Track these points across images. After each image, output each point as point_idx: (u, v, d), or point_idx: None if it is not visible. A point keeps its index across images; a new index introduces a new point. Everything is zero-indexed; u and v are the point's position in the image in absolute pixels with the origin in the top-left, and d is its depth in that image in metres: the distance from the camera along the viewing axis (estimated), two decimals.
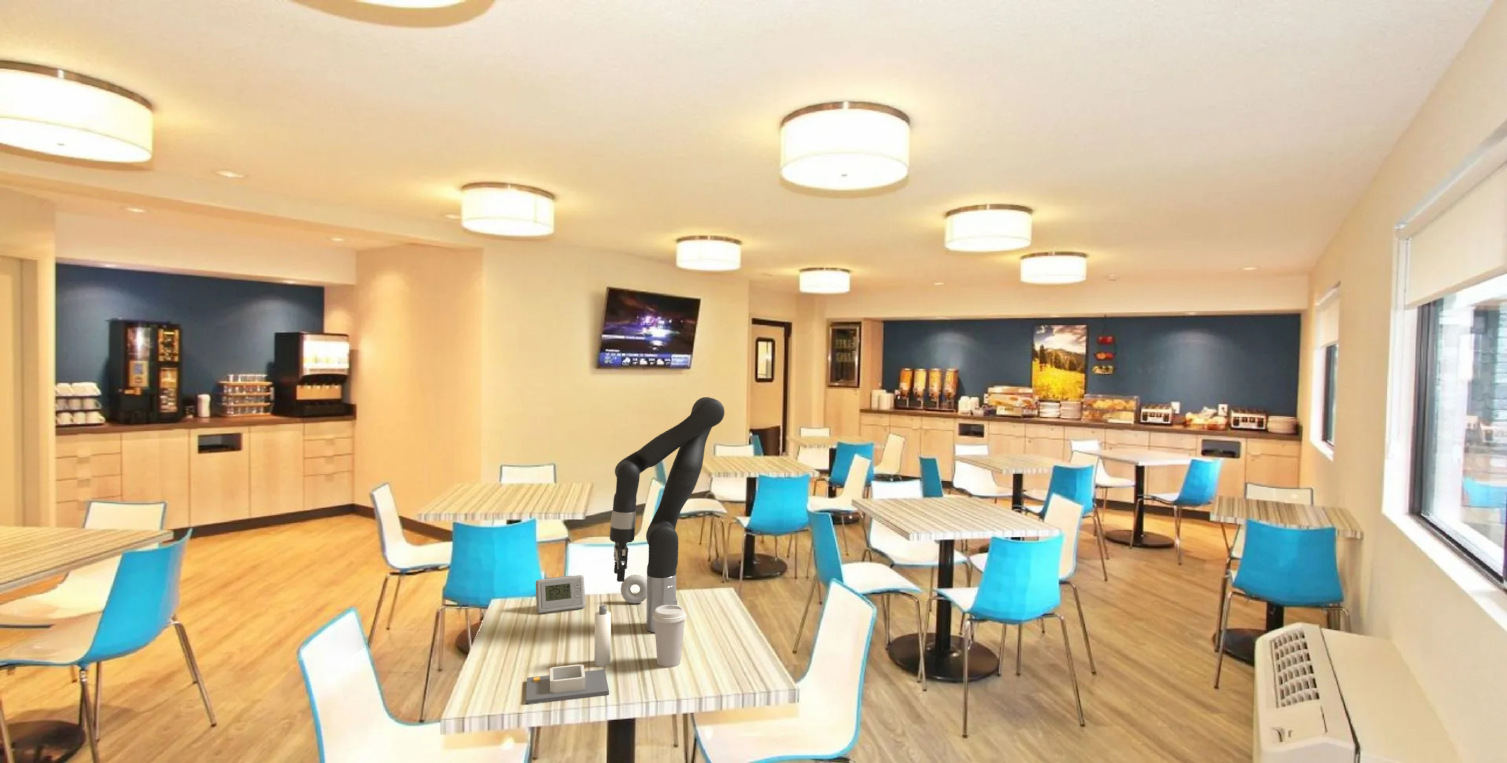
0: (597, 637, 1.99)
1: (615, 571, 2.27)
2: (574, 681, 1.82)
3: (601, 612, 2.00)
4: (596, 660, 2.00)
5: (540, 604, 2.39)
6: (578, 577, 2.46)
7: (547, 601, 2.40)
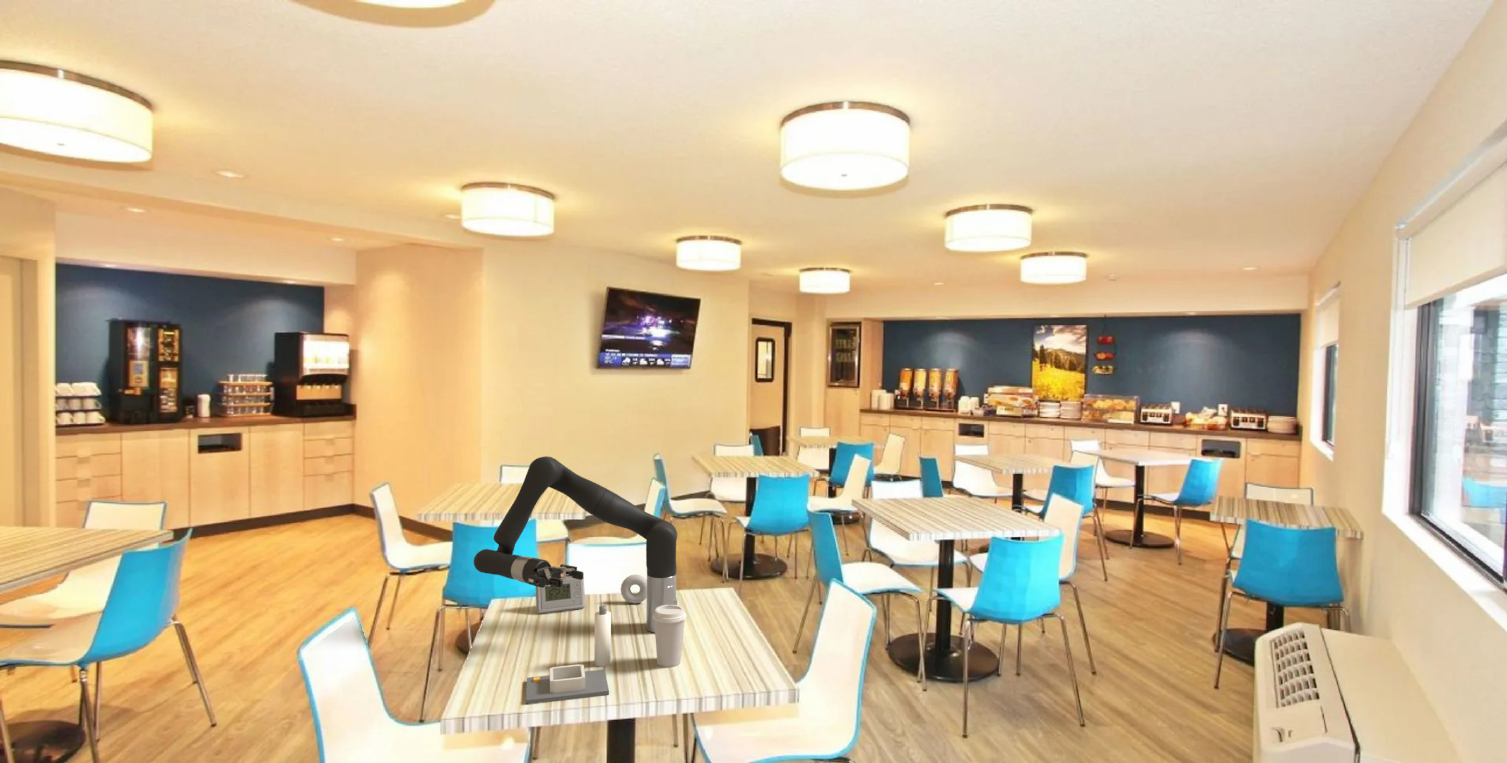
0: (596, 637, 1.99)
1: (580, 578, 2.10)
2: (574, 681, 1.82)
3: (601, 612, 2.00)
4: (596, 660, 2.00)
5: (540, 604, 2.39)
6: None
7: (547, 601, 2.40)
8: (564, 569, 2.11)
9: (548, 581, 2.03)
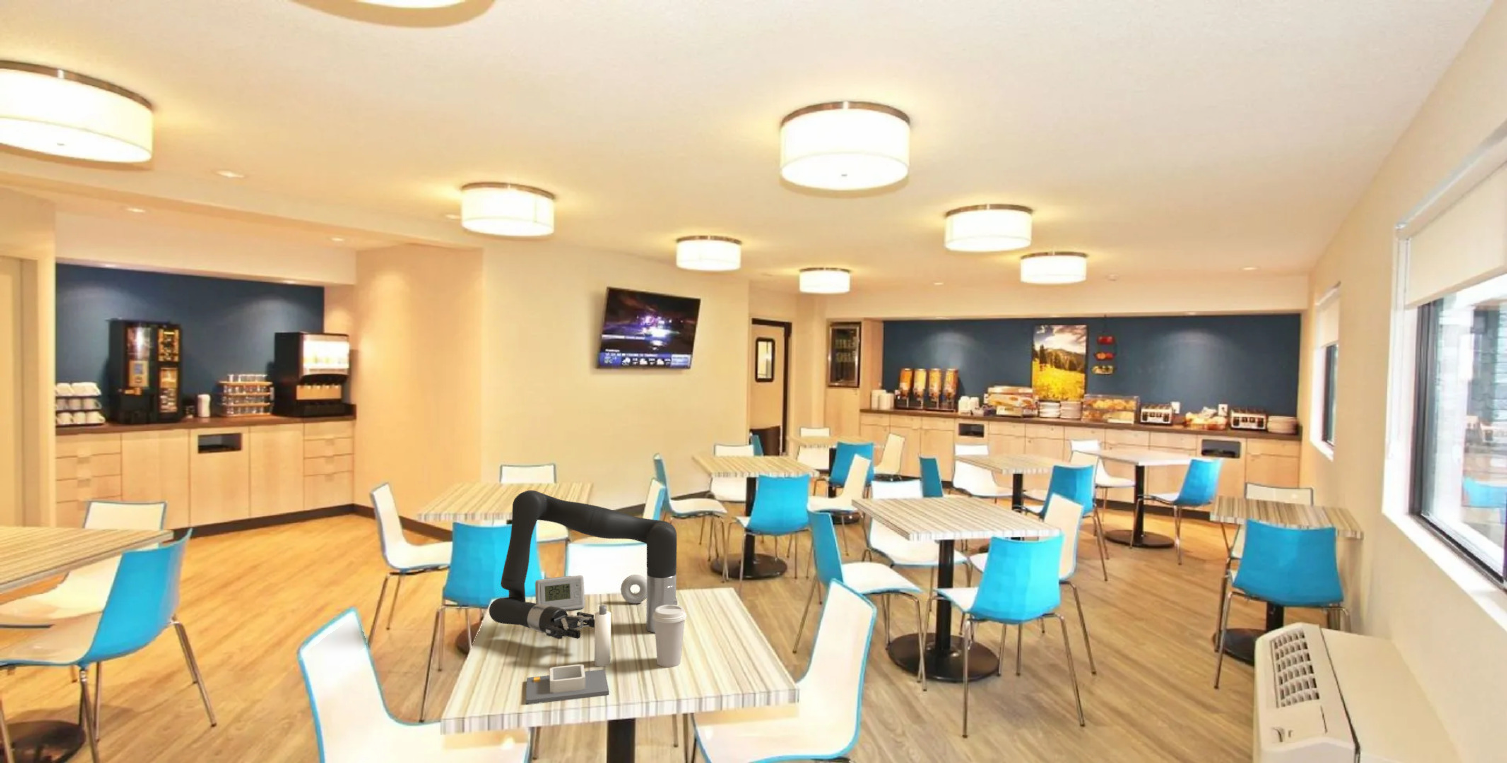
0: (597, 637, 1.99)
1: None
2: (574, 681, 1.82)
3: (601, 612, 2.00)
4: (596, 660, 2.00)
5: None
6: (578, 577, 2.46)
7: (546, 601, 2.40)
8: (581, 618, 2.09)
9: (565, 632, 2.00)
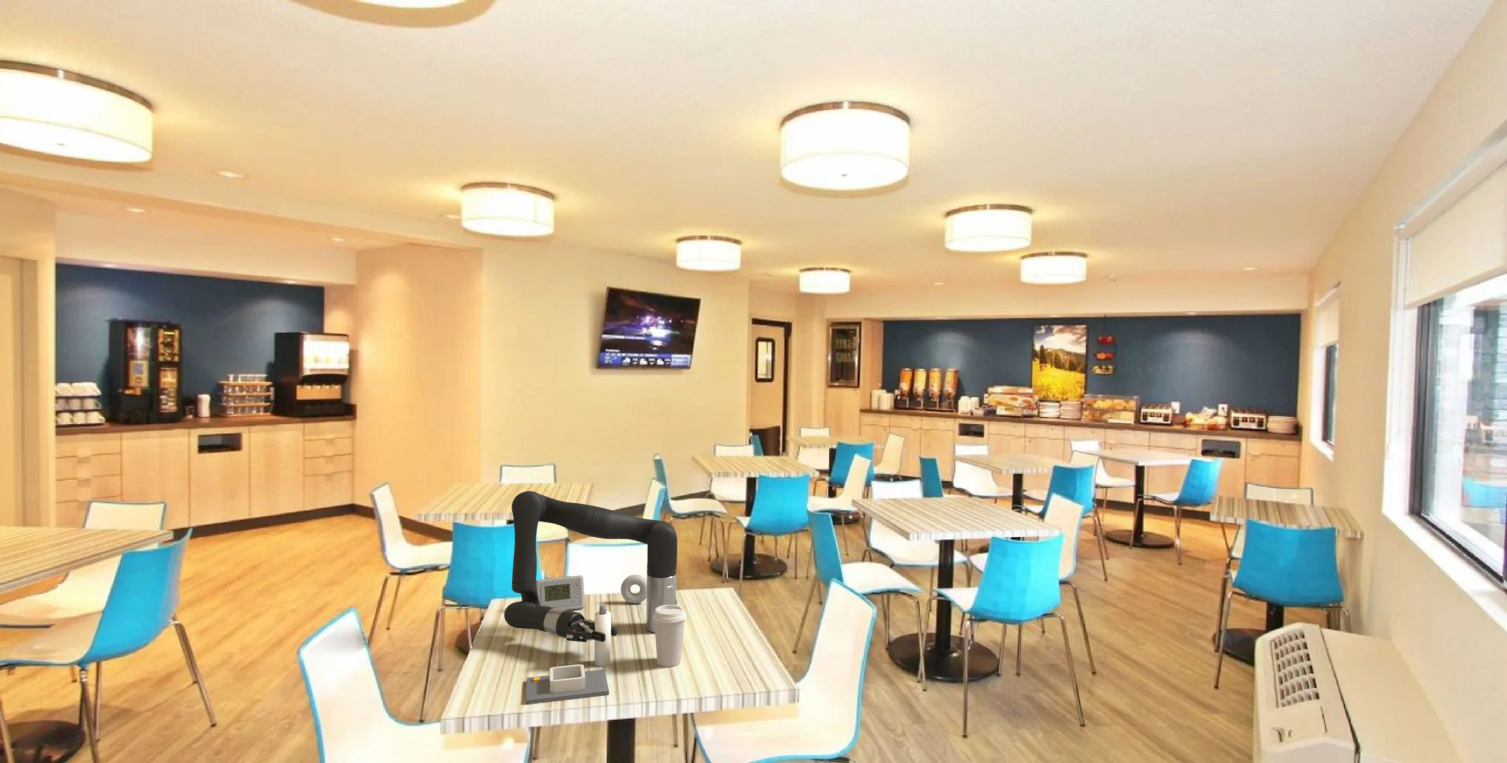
0: None
1: (613, 634, 2.02)
2: (574, 681, 1.82)
3: (601, 612, 2.00)
4: (596, 660, 2.00)
5: None
6: (578, 577, 2.46)
7: (546, 601, 2.40)
8: None
9: (592, 635, 1.99)
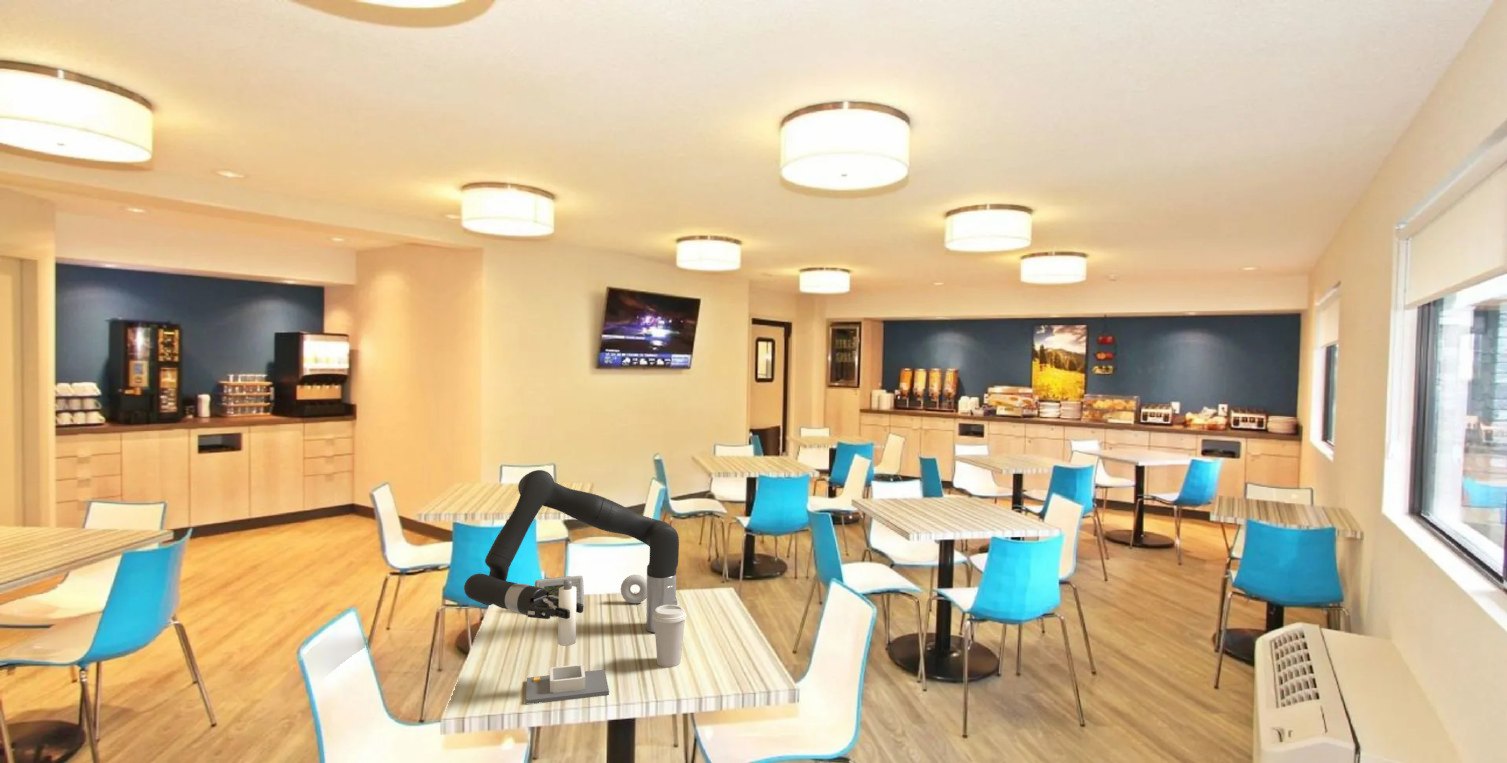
0: None
1: (579, 611, 1.86)
2: (574, 681, 1.82)
3: (565, 587, 1.84)
4: (560, 639, 1.84)
5: None
6: (577, 578, 2.46)
7: None
8: None
9: (555, 612, 1.83)
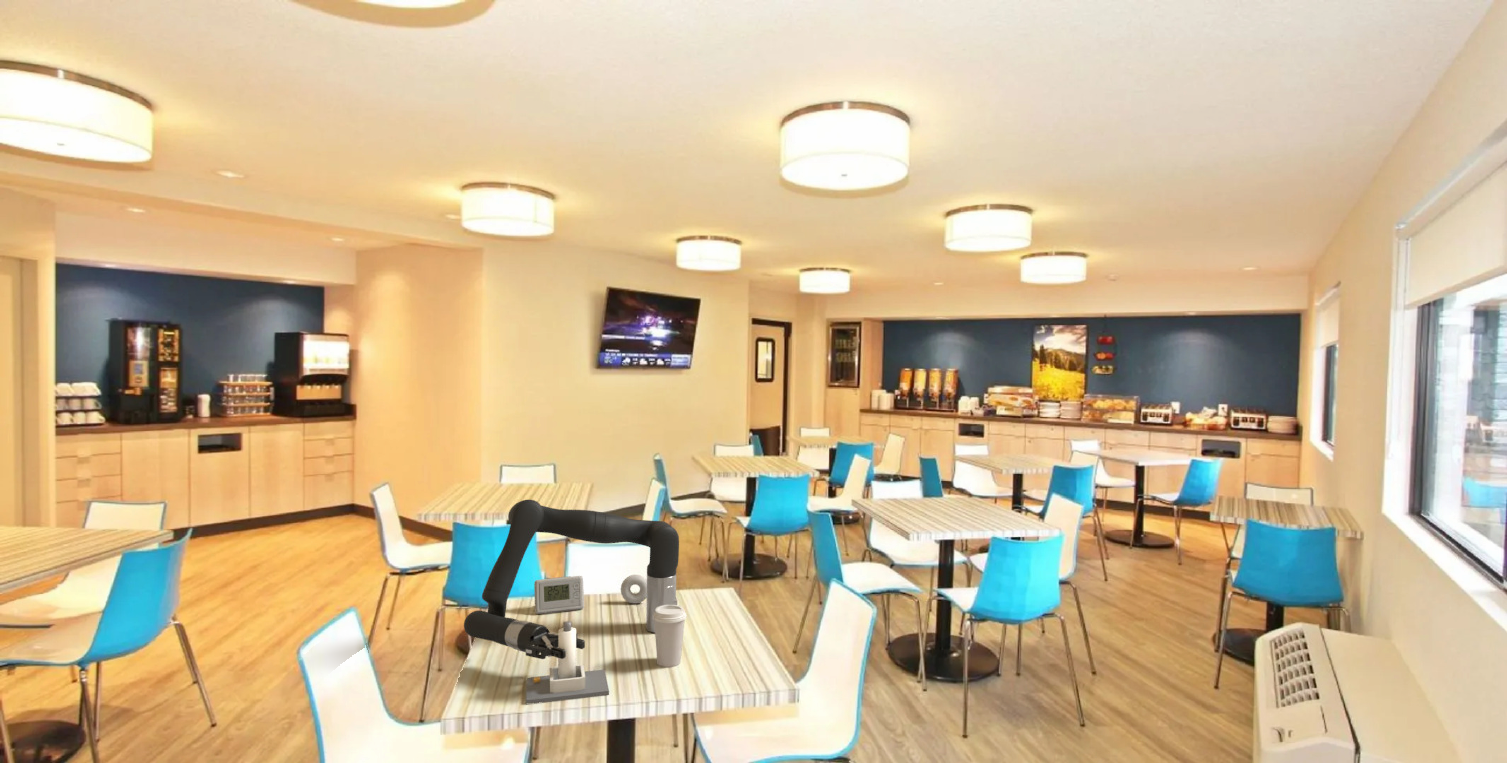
0: None
1: (580, 647, 1.88)
2: (574, 681, 1.82)
3: (565, 629, 1.85)
4: None
5: (538, 604, 2.38)
6: (577, 578, 2.45)
7: (545, 602, 2.39)
8: None
9: (550, 651, 1.82)
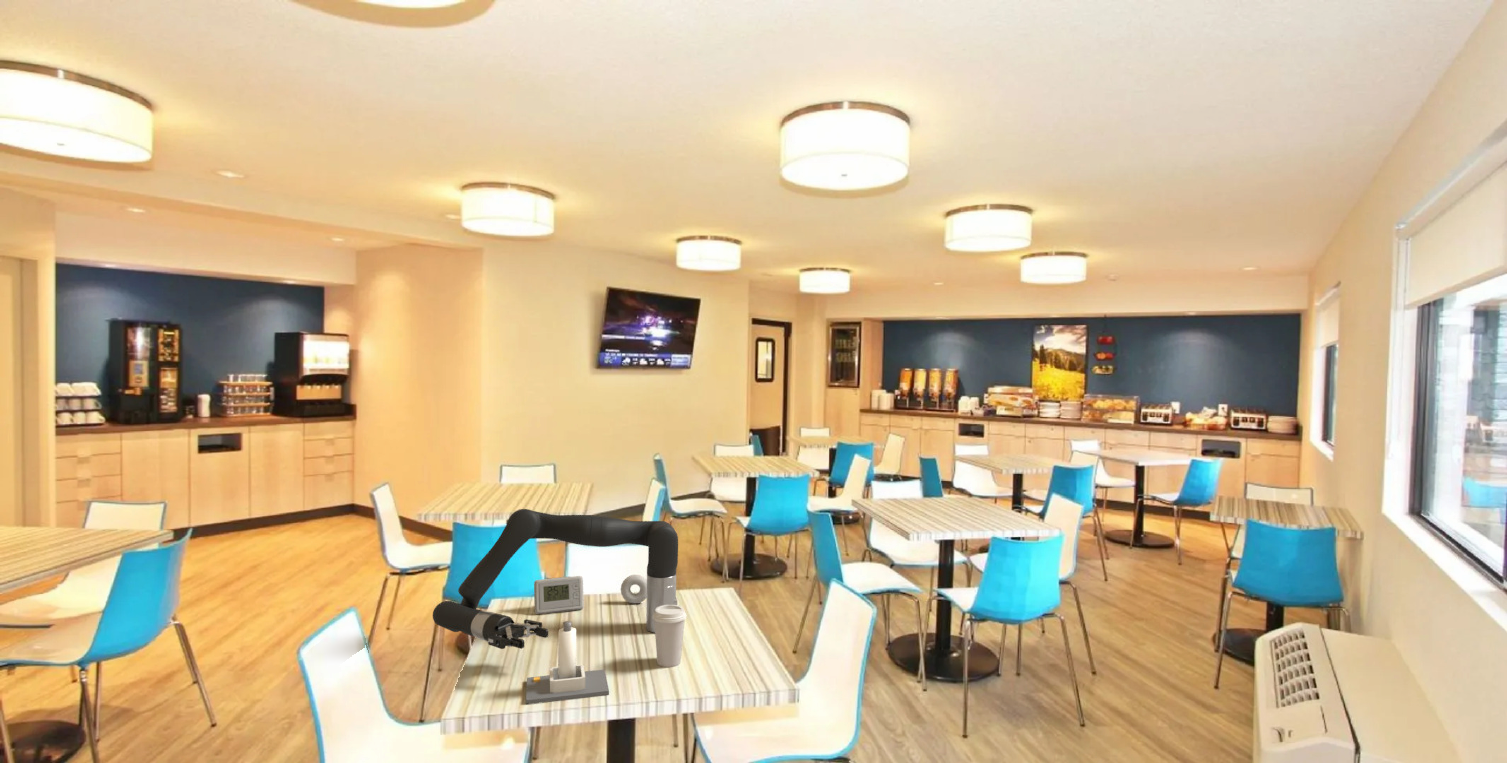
0: (560, 656, 1.84)
1: (544, 636, 1.95)
2: (574, 681, 1.82)
3: (565, 629, 1.85)
4: None
5: (538, 605, 2.38)
6: (577, 578, 2.45)
7: (545, 602, 2.39)
8: (528, 626, 1.96)
9: (509, 642, 1.88)
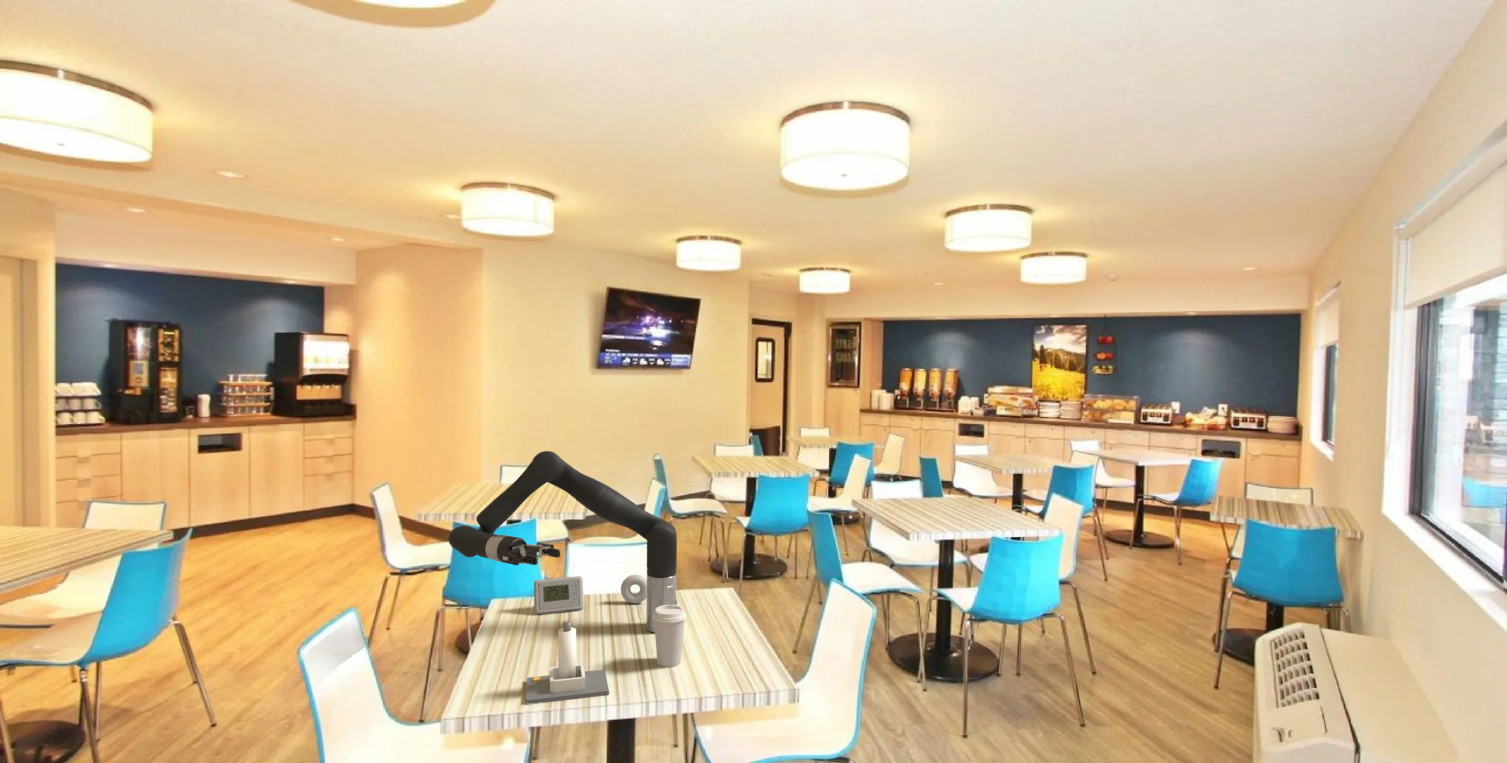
0: (560, 656, 1.84)
1: (556, 556, 2.03)
2: (574, 681, 1.82)
3: (565, 629, 1.85)
4: None
5: (538, 605, 2.38)
6: (577, 578, 2.45)
7: (545, 602, 2.39)
8: (540, 547, 2.04)
9: (523, 559, 1.96)
